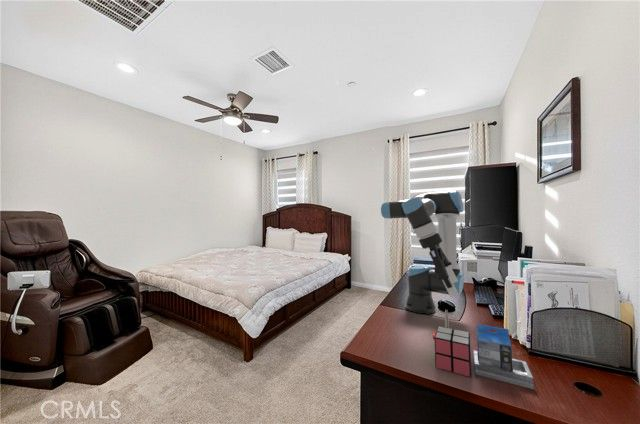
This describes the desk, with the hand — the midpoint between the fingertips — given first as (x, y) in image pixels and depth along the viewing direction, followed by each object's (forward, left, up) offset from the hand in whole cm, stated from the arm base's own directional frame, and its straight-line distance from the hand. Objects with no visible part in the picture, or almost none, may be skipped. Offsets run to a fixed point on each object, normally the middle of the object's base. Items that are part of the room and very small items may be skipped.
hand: (454, 288), depth 88 cm
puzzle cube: (+8, -1, -24) cm, 25 cm away
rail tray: (+6, +12, -23) cm, 27 cm away
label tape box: (+5, +11, -23) cm, 26 cm away
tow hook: (-10, -5, -24) cm, 26 cm away
